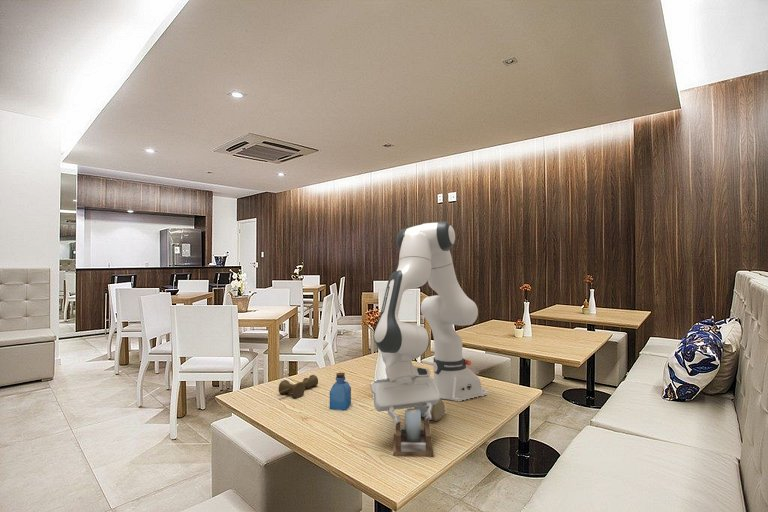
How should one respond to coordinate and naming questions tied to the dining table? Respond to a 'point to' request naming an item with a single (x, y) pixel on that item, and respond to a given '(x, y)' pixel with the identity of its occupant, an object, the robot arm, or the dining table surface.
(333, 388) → the perfume bottle
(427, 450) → the holder
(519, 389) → the dining table surface
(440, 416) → the ceramic mug
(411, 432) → the paper roll
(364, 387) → the dining table surface
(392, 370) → the robot arm
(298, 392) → the kendama
